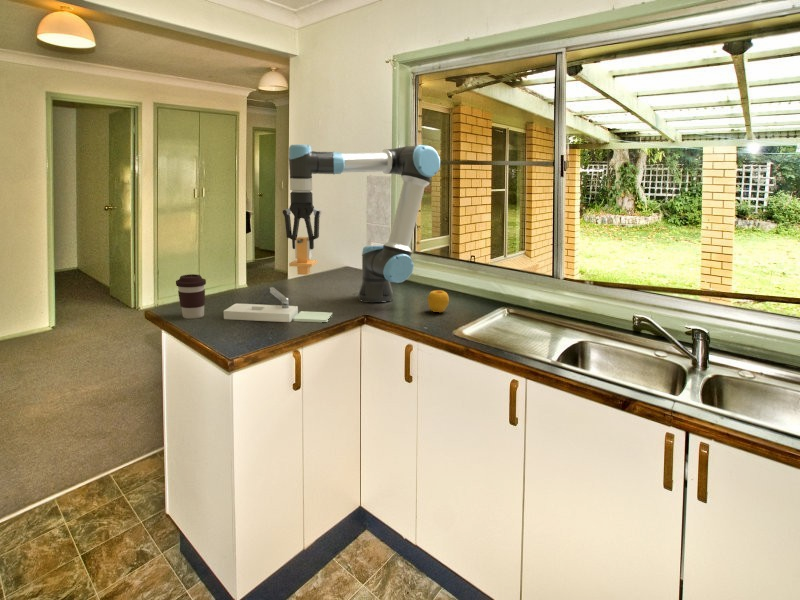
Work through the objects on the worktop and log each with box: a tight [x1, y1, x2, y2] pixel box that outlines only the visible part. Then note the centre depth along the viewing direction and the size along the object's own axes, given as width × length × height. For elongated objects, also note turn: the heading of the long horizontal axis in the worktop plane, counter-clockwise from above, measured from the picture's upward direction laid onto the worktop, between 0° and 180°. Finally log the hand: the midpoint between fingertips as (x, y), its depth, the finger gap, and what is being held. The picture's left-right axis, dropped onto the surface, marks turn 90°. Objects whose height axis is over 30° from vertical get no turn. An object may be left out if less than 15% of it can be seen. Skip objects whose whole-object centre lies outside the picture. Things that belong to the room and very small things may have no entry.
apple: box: [427, 289, 450, 313], centre depth 196 cm, size 8×8×9 cm
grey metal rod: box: [269, 286, 290, 305], centre depth 193 cm, size 21×3×2 cm, turn 29°
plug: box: [288, 236, 318, 276], centre depth 178 cm, size 8×9×13 cm
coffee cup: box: [175, 273, 207, 320], centre depth 181 cm, size 10×10×15 cm
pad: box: [292, 310, 333, 323], centre depth 184 cm, size 12×10×1 cm
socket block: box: [223, 302, 299, 323], centre depth 184 cm, size 24×11×4 cm, turn 86°
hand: (303, 258), depth 179 cm, fingers closed on plug, 4 cm apart
